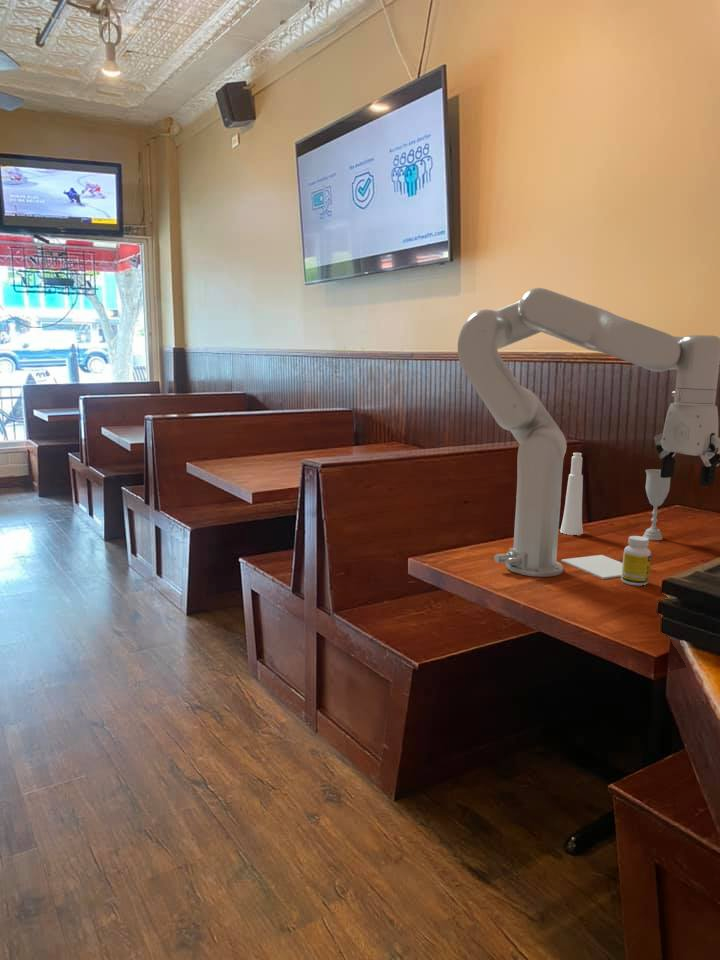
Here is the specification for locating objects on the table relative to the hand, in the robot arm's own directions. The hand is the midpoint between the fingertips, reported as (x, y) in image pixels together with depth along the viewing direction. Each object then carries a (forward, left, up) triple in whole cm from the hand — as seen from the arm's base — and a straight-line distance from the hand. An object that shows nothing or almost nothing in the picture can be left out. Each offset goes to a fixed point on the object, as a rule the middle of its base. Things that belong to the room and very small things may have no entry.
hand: (686, 481), depth 144 cm
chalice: (+26, +33, -23) cm, 48 cm away
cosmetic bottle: (+8, +44, -23) cm, 50 cm away
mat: (-6, +16, -22) cm, 28 cm away
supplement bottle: (-7, +5, -23) cm, 24 cm away
